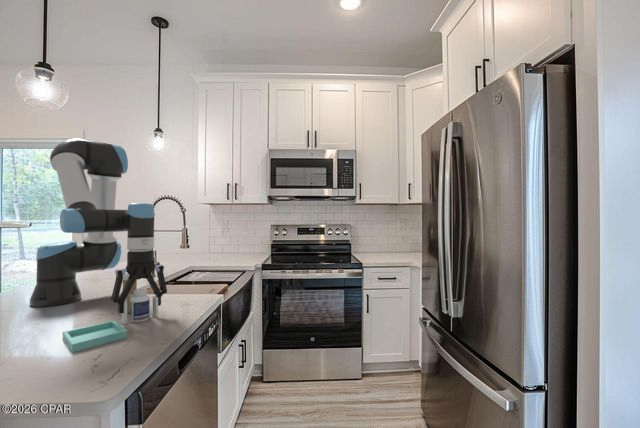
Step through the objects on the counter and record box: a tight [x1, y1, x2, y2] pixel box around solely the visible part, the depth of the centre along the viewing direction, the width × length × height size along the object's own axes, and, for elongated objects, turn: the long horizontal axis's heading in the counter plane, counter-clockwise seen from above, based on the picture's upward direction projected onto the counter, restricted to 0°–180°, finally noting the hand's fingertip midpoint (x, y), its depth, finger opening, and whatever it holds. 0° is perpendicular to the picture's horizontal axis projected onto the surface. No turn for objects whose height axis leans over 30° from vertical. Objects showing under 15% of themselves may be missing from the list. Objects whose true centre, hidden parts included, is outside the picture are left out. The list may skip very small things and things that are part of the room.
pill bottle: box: [129, 288, 151, 323], centre depth 97 cm, size 5×5×10 cm
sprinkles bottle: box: [121, 272, 138, 314], centre depth 105 cm, size 5×5×14 cm
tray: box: [62, 320, 128, 353], centre depth 82 cm, size 12×12×2 cm
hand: (140, 319), depth 97 cm, fingers open, 8 cm apart
